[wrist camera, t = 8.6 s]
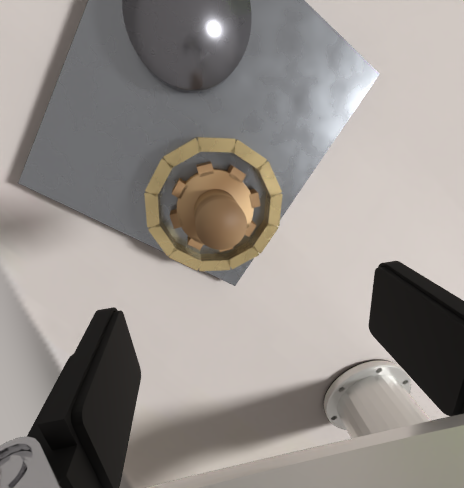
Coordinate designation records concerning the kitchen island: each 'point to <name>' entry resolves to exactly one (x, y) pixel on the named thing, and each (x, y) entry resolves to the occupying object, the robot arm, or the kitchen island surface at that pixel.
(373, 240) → the kitchen island surface
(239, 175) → the planet gear
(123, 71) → the carrier plate
